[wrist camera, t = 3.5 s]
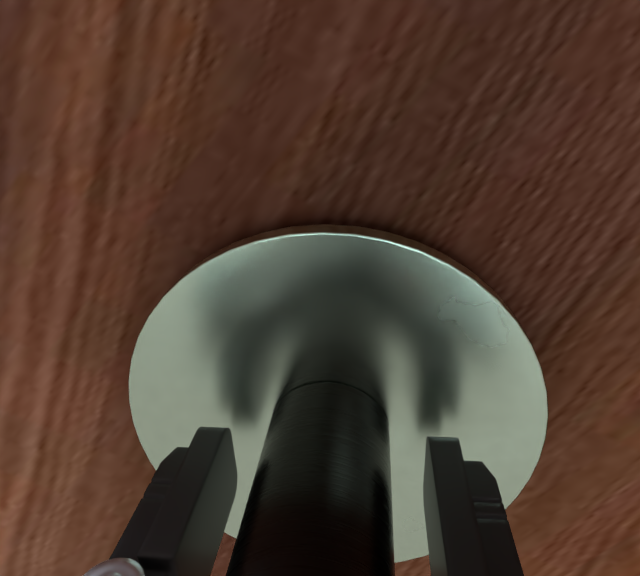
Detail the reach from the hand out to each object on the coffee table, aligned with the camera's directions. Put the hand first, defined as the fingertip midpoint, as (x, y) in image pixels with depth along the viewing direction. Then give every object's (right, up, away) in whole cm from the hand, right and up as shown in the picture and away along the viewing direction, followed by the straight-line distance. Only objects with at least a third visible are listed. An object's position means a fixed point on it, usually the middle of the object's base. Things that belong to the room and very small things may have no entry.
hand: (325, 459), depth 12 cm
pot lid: (0, +1, +2) cm, 2 cm away
